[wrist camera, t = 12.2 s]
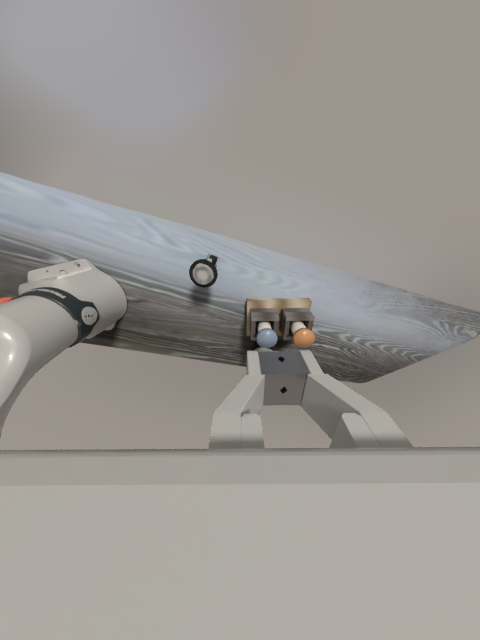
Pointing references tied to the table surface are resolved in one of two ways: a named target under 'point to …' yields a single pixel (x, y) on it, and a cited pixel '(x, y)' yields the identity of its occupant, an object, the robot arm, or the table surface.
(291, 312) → the mount
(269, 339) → the knob
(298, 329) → the knob
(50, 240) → the table surface
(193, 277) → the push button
